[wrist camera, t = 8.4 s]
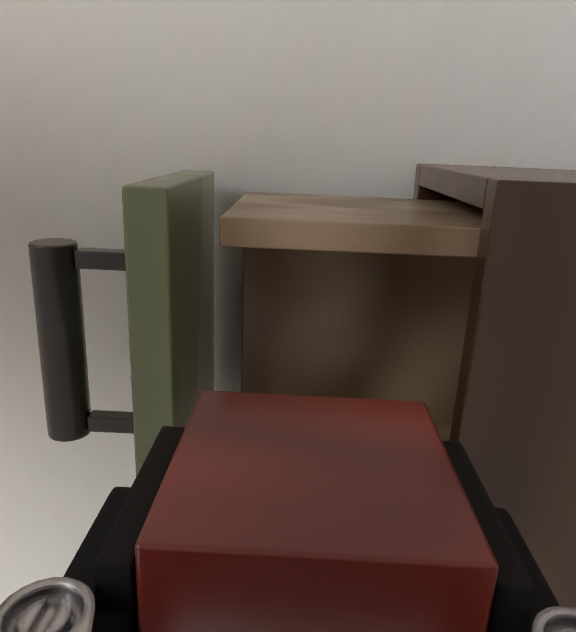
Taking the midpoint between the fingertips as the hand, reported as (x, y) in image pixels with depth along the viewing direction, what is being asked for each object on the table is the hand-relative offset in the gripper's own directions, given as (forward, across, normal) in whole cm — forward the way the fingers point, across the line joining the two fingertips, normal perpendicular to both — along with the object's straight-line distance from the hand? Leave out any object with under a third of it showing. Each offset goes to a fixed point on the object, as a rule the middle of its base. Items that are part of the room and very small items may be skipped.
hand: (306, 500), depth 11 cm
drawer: (+12, +1, 0) cm, 12 cm away
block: (0, 0, 0) cm, 0 cm away
